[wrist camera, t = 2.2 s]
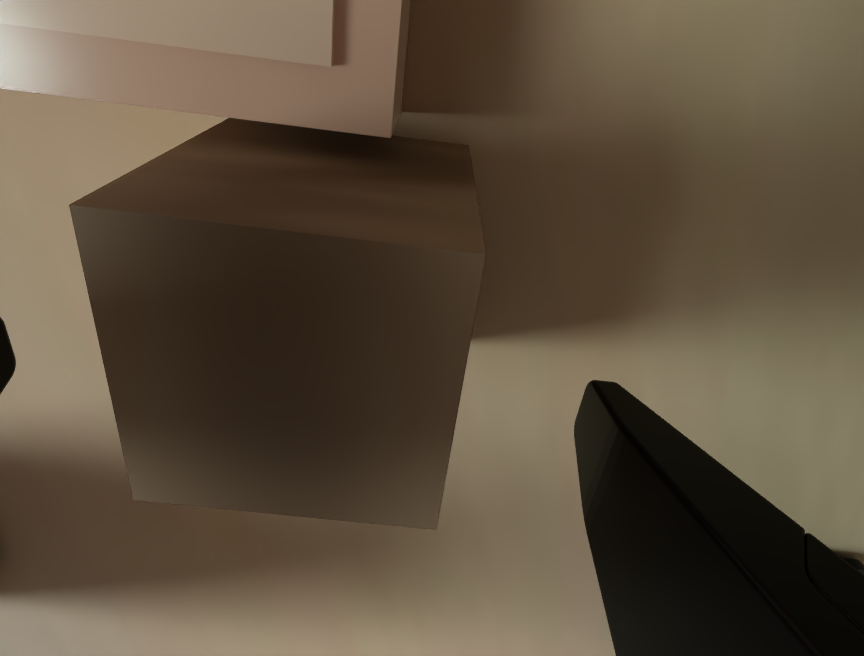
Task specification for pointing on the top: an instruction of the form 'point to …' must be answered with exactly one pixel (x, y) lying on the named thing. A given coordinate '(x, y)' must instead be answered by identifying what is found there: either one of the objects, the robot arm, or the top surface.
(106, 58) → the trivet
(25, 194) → the top surface
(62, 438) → the top surface
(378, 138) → the walnut block
